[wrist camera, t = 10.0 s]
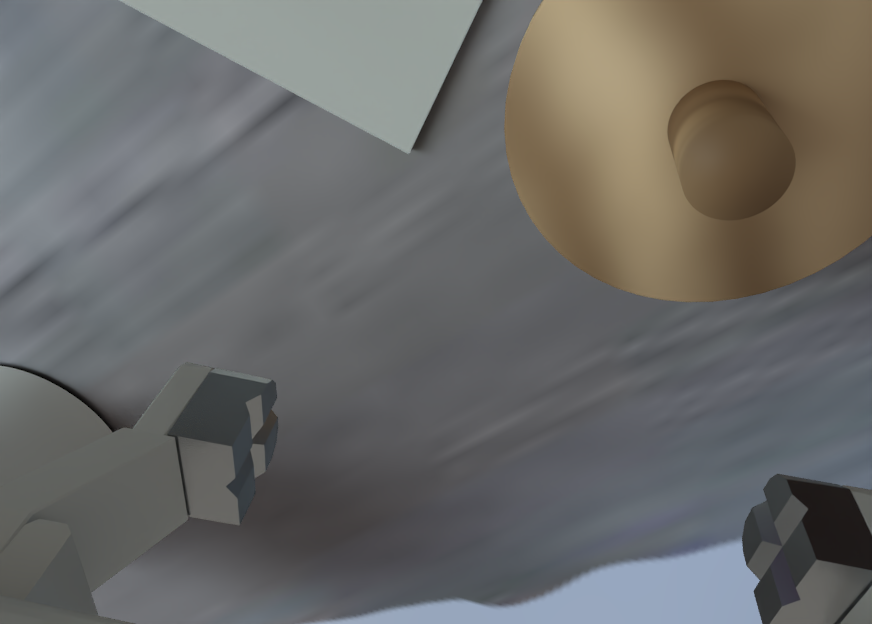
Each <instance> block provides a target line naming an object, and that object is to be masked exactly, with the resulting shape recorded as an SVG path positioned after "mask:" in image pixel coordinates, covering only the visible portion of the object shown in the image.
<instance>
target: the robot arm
mask: <svg viewBox="0 0 872 624" xmlns="http://www.w3.org/2000/svg"><path fill="white" fill-rule="evenodd" d="M276 399H277V391H276V383H275V382H274V381H273V380H271V379H266V378H262V377H257V376H252V375H247V374H243V373H238V372H233V371H228V370H224V369H219V368H211V367H206V366H202V365H197V364H193V363H188V362H187V363H185V364H183V365H181V366H180V367H178V369H177V370H176V371H175V373H174V374H173V375H172V377H171V378H170V379H169V381H168V382H167V383H166V385H165V386H164V387H163V389H162V390H161V391H160V393H159V394H158V395H157V397H156V398H155V399H154V401H153V402H152V403H151V405H150V406H149V407H148V409H147V410H146V411H145V413H144V414H143V415H142V417H141V418H140V419H139V421H138V422H137V423H136V425H135V426H134V427H133V429H130V428H125V427H123V428H121V429H119V430H117V431H115V432H112V431H111V430H110V429H109V427H108V426H107V425H106V424H105V423H104V422H103V420H102V419H101V418H100V417H99V416H98V415H97V414H96V413H95V412H93V411H92V410H91V409H90V408H89V407H88V406H87V405H85V404H84V403H83V402H81V401H80V400H79V399H77V398H76V397H75V396H73V395H72V394H70V393H69V392H67V391H66V390H64V389H62V388H61V387H59V386H57V385H55V384H53V383H51V382H49V381H47V380H45V379H43V378H41V377H38V376H36V375H33V374H31V373H28V372H25V371H22V370H18V369H15V368H10V367H5V366H0V624H134V623H130V622H125V621H120V620H115V619H111V618H106V617H101V616H98V613H97V609H96V606H95V603H94V600H93V597H92V594H91V592H93V591H94V590H95V589H97V588H98V587H99V586H101V585H102V584H103V583H105V582H106V581H107V580H109V579H110V578H111V577H113V576H114V575H115V574H117V573H118V572H119V571H121V570H122V569H123V568H125V567H126V566H127V565H129V564H130V563H131V562H133V561H134V560H135V559H137V558H138V557H139V556H141V555H142V554H143V553H145V552H146V551H147V550H149V549H150V548H151V547H153V546H154V545H155V544H157V543H158V542H159V541H161V540H162V539H163V538H165V537H166V536H167V535H169V534H170V533H171V532H173V531H174V530H175V529H177V528H178V527H179V526H181V525H182V524H183V523H185V522H186V521H187V520H188V517H193V518H199V519H205V520H210V521H216V522H222V523H228V524H234V525H240V524H241V522H242V520H243V518H244V516H245V514H246V512H247V509H248V507H249V505H250V503H251V501H252V499H253V497H254V495H255V478H256V477H258V476H260V475H261V474H263V473H264V472H266V470H267V467H268V465H269V463H270V461H271V459H272V455H273V452H274V448H275V445H276V441H277V433H278V417H277V416H276V415H275V413H274V412H273V411H272V410H271V409H272V407H273V405H274V403H275V401H276ZM763 490H764V493H765V496H766V499H767V501H765V502H763V503H761V504H759V505H757V506H755V507H753V508H752V509H751V511H750V513H749V515H748V517H747V519H746V521H745V525H744V530H743V536H742V542H743V552H744V557H745V561H746V565H747V567H748V568H749V569H750V570H751V571H752V572H753V573H754V574H755V575H756V576H757V577H758V579H759V580H760V581H759V583H758V585H757V586H756V588H755V590H754V594H755V598H756V602H757V605H758V609H759V612H760V616H761V620H762V623H763V624H872V490H868V489H863V488H857V487H851V486H845V485H843V486H841V485H838V484H832V483H827V482H821V481H816V480H810V479H804V478H799V477H793V476H788V475H782V474H776V475H775V476H773V477H772V478H770V479H769V481H768V483H767V484H766V486H765V487H764V489H763Z"/></svg>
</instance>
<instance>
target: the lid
mask: <svg viewBox="0 0 872 624" xmlns="http://www.w3.org/2000/svg"><path fill="white" fill-rule="evenodd" d="M504 130H505V141H506V153H507V158H508V162H509V167H510V171H511V176H512V179H513V182H514V184H515V187H516V190H517V192H518V195H519V198H520V200H521V202H522V204H523V205H524V207H525V209H526V211H527V213H528V215H529V217H530V218H531V220H532V221H533V223H534V224H535V225H536V227H537V228H538V229H539V231H540V232H541V234H542V235H543V236H544V237H545V239H546V240H547V241H548V242H549V243H550V244H551V245H552V246H553V247H554V248H555V249H556V250H557V251H558V252H559V253H560V254H561V255H563V256H564V257H565V258H566V259H568V260H569V261H570V262H571V263H573V264H574V265H575V266H576V267H578V268H579V269H581V270H583V271H584V272H586V273H588V274H589V275H591V276H592V277H594V278H596V279H598V280H600V281H602V282H604V283H607V284H609V285H611V286H613V287H615V288H618V289H621V290H624V291H627V292H630V293H634V294H637V295H640V296H645V297H650V298H655V299H660V300H669V301H681V302H713V301H721V300H729V299H738V298H742V297H747V296H751V295H756V294H760V293H764V292H767V291H770V290H773V289H776V288H780V287H783V286H786V285H789V284H791V283H793V282H796V281H798V280H800V279H803V278H805V277H807V276H809V275H812V274H814V273H816V272H818V271H819V270H821V269H823V268H825V267H827V266H828V265H830V264H832V263H834V262H836V261H837V260H839V259H841V258H842V257H844V256H845V255H846V254H848V253H849V252H851V251H852V250H854V249H855V248H857V247H858V246H859V245H861V244H862V243H864V242H865V241H866V240H867V239H868V238H869V237H871V236H872V0H543V1H542V2H541V4H540V6H539V7H538V9H537V11H536V12H535V14H534V15H533V18H532V20H531V22H530V24H529V26H528V29H527V31H526V33H525V35H524V37H523V39H522V42H521V45H520V48H519V51H518V54H517V57H516V60H515V63H514V66H513V70H512V73H511V76H510V82H509V87H508V93H507V98H506V106H505V127H504Z"/></svg>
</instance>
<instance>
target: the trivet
mask: <svg viewBox="0 0 872 624" xmlns="http://www.w3.org/2000/svg"><path fill="white" fill-rule="evenodd" d="M119 1H121V2H123V3H125V4H127V5H129V6H130V7H132V8H134V9H136V10H138V11H140V12H142V13H144V14H146V15H147V16H149V17H151V18H153V19H155V20H157V21H159V22H161V23H163V24H164V25H166V26H168V27H170V28H172V29H174V30H176V31H178V32H179V33H181V34H183V35H185V36H187V37H189V38H191V39H193V40H195V41H196V42H198V43H200V44H202V45H204V46H206V47H208V48H210V49H212V50H213V51H215V52H217V53H219V54H221V55H223V56H225V57H227V58H229V59H230V60H232V61H234V62H236V63H238V64H240V65H242V66H244V67H245V68H247V69H249V70H251V71H253V72H255V73H257V74H259V75H261V76H262V77H264V78H266V79H268V80H270V81H272V82H274V83H276V84H278V85H279V86H281V87H283V88H285V89H287V90H289V91H291V92H293V93H295V94H296V95H298V96H300V97H302V98H304V99H306V100H308V101H310V102H312V103H313V104H315V105H317V106H319V107H321V108H323V109H325V110H327V111H328V112H330V113H332V114H334V115H336V116H338V117H340V118H342V119H344V120H345V121H347V122H349V123H351V124H353V125H355V126H357V127H359V128H361V129H362V130H364V131H366V132H368V133H370V134H372V135H374V136H376V137H378V138H379V139H381V140H383V141H385V142H387V143H389V144H391V145H393V146H394V147H396V148H398V149H400V150H402V151H404V152H406V153H408V154H409V153H410V151H411V150H412V147H413V145H414V143H415V141H416V139H417V137H418V135H419V133H420V131H421V129H422V127H423V124H424V122H425V120H426V118H427V116H428V114H429V112H430V110H431V108H432V106H433V104H434V101H435V99H436V97H437V95H438V93H439V91H440V89H441V87H442V85H443V83H444V81H445V78H446V76H447V74H448V72H449V70H450V68H451V66H452V64H453V62H454V60H455V57H456V55H457V53H458V51H459V49H460V47H461V45H462V43H463V41H464V39H465V37H466V34H467V32H468V30H469V28H470V26H471V24H472V22H473V20H474V18H475V16H476V14H477V11H478V9H479V7H480V5H481V3H482V1H483V0H119Z"/></svg>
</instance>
